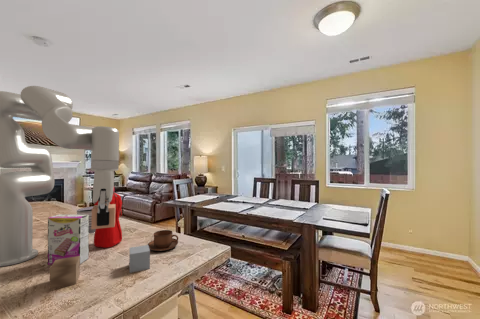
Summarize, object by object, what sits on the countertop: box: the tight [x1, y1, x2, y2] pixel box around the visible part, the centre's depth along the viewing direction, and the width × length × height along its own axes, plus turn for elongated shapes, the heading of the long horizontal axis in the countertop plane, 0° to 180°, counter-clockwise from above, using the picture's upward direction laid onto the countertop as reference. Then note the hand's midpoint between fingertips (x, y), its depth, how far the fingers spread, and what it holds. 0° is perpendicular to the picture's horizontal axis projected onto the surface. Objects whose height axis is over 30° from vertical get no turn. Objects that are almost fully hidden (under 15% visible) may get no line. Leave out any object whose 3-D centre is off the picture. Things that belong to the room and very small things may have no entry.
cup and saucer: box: [147, 229, 179, 252], centre depth 91 cm, size 12×12×6 cm
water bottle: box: [93, 188, 123, 249], centre depth 94 cm, size 9×11×25 cm
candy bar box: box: [47, 213, 90, 266], centre depth 78 cm, size 11×5×16 cm, turn 92°
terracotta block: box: [91, 204, 116, 229], centre depth 70 cm, size 6×6×6 cm
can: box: [76, 205, 96, 234], centre depth 112 cm, size 11×11×12 cm
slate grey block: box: [128, 244, 151, 274], centre depth 75 cm, size 6×6×6 cm
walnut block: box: [49, 256, 81, 291], centre depth 65 cm, size 6×6×6 cm
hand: (103, 221), depth 70 cm, fingers closed on terracotta block, 6 cm apart
